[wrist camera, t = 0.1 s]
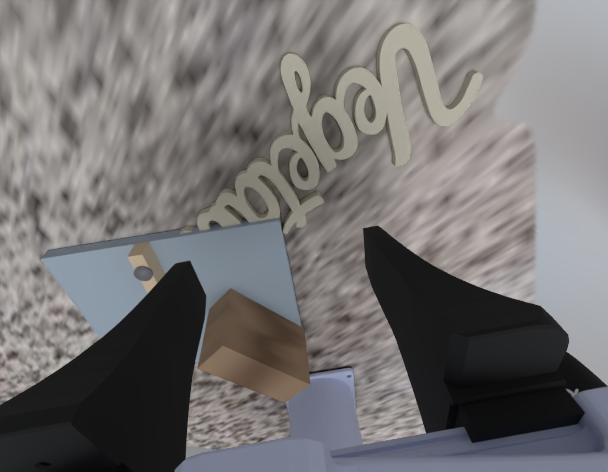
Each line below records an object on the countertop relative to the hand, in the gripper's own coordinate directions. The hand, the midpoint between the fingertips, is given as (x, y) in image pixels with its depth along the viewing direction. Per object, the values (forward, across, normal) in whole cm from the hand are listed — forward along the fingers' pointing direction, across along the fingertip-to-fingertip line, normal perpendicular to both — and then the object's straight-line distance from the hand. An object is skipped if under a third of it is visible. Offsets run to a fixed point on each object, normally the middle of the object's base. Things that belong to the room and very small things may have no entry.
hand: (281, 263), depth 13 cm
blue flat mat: (+10, +9, +10) cm, 17 cm away
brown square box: (+9, +4, +13) cm, 16 cm away
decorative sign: (+11, 0, 0) cm, 11 cm away
